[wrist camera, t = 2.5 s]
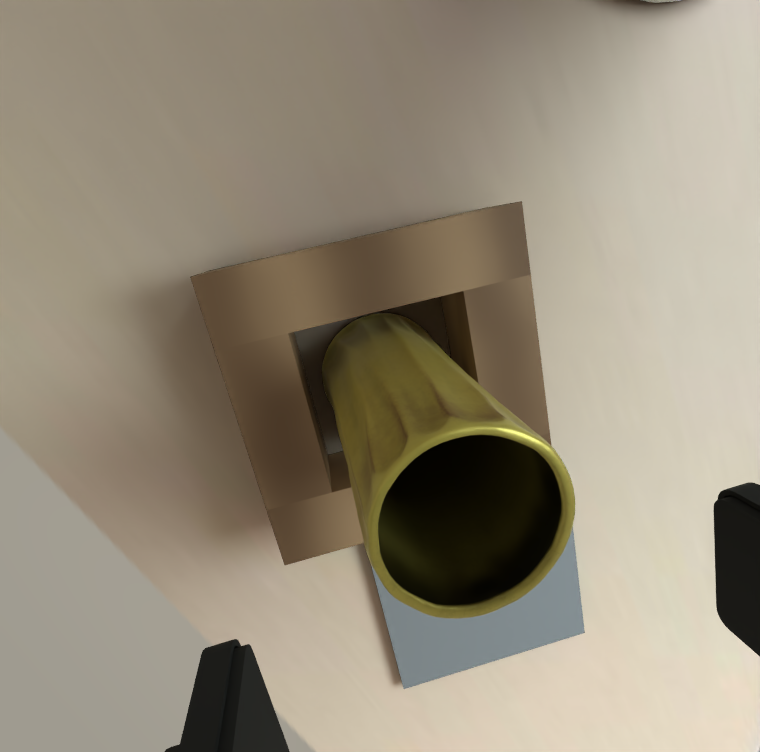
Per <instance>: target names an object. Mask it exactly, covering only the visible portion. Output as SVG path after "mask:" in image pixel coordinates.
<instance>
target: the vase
mask: <svg viewBox="0 0 760 752" xmlns="http://www.w3.org/2000/svg"><path fill="white" fill-rule="evenodd" d="M322 379H323V385H324V390H325V393H326V396H327V399H328V401H329V402H330V403H331V405H332V406H333V410H334V413H335V418H336V424H337V429H338V433H339V436H340V440H341V444H342V448H343V451H344V455H345V458H346V461H347V464H348V470H349V477H350V483H351V487H352V491H353V496H354V500H355V505H356V509H357V515H358V519H359V523H360V528H361V532H362V536H363V540H364V545H365V549H366V552H367V555H368V558H369V560H370V563H371V565H372V567H373V569H374V570H375V572H376V574H377V575H378V577H379V579H380V581H381V582H382V584H383V586H384V587H385V588H386V589H387V591H388V592H389V593H390V594H391V595H392V596H393V597H394V598H395V599H397V600H399V601H400V602H402V603H403V604H405V605H407V606H409V607H411V608H413V609H416V610H418V611H420V612H422V613H424V614H427V615H430V616H433V617H439V618H450V619H459V618H471V617H476V616H481V615H485V614H488V613H491V612H494V611H496V610H498V609H500V608H502V607H505V606H507V605H509V604H511V603H513V602H515V601H517V600H518V599H520V598H521V597H523V596H524V595H526V594H527V593H529V592H530V591H531V590H532V589H533V588H535V587H536V586H537V585H538V584H539V583H540V582H541V581H542V580H543V579H544V578H545V576H546V575H547V574H548V573H549V571H550V570H551V569H552V568H553V566H554V565H555V564H556V562H557V561H558V559H559V558H560V556H561V555H562V553H563V551H564V549H565V547H566V544H567V542H568V540H569V537H570V535H571V531H572V526H573V521H574V515H575V496H574V489H573V485H572V481H571V478H570V476H569V473H568V471H567V469H566V467H565V465H564V463H563V462H562V460H561V458H560V457H559V455H558V454H557V453H556V451H555V450H554V448H553V447H552V446H551V445H550V444H549V443H548V442H547V441H546V440H544V439H543V438H542V437H541V436H540V435H538V434H537V433H536V432H534V431H533V430H532V429H531V428H530V427H528V426H527V425H526V424H525V423H524V422H523V421H521V420H520V419H519V418H518V417H516V416H515V415H514V414H513V413H512V412H510V411H509V410H508V409H507V408H506V407H505V406H503V405H502V404H501V403H499V402H498V401H497V400H496V399H495V398H494V397H493V396H492V395H491V394H490V393H488V392H487V391H486V390H485V389H484V388H483V387H482V386H481V385H479V384H478V383H477V382H476V381H475V380H474V379H473V378H471V377H470V376H469V375H468V374H467V373H466V372H465V371H464V370H463V369H462V368H461V367H460V366H459V365H458V364H457V363H455V362H454V361H453V360H452V359H451V358H450V357H449V356H448V355H447V354H446V353H445V352H444V351H443V350H442V349H441V348H440V347H439V346H438V345H437V344H436V343H435V342H434V341H433V340H432V339H431V337H430V335H429V334H428V333H427V332H426V331H425V330H424V329H423V328H422V327H421V326H420V325H418V324H417V323H415V322H414V321H412V320H410V319H408V318H406V317H403V316H400V315H396V314H390V313H379V314H371V315H367V316H364V317H361V318H359V319H357V320H355V321H353V322H351V323H350V324H348V325H347V326H346V327H344V328H343V329H342V330H341V331H340V332H339V333H338V334H337V335H336V336H335V337H334V339H333V340H332V342H331V343H330V345H329V347H328V349H327V351H326V354H325V357H324V361H323V364H322Z"/></svg>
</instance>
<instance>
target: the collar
mask: <svg viewBox="0 0 760 752" xmlns="http://www.w3.org/2000/svg"><path fill="white" fill-rule="evenodd" d="M191 281H192V284H193V287H194V290H195V293H196V296H197V299H198V302H199V305H200V308H201V311H202V314H203V317H204V320H205V323H206V326H207V329H208V332H209V336H210V339H211V342H212V345H213V348H214V351H215V354H216V357H217V360H218V363H219V366H220V369H221V372H222V375H223V378H224V381H225V384H226V387H227V391H228V394H229V397H230V400H231V403H232V406H233V409H234V412H235V415H236V418H237V421H238V424H239V427H240V430H241V433H242V436H243V439H244V442H245V445H246V449H247V452H248V455H249V458H250V461H251V464H252V467H253V470H254V473H255V476H256V479H257V482H258V485H259V488H260V491H261V494H262V497H263V500H264V504H265V507H266V510H267V513H268V516H269V519H270V522H271V525H272V528H273V531H274V534H275V537H276V540H277V543H278V546H279V549H280V552H281V555H282V559H283V562H284V565H287V564H291V563H295V562H298V561H302V560H305V559H309V558H312V557H316V556H319V555H323V554H326V553H330V552H333V551H337V550H340V549H344V548H348V547H351V546H355V545H358V544H362V543H364V540H363V536H362V532H361V528H360V523H359V519H358V515H357V509H356V505H355V500H354V496H353V491H352V487H351V483H350V477H349V470H348V464H347V461H346V458H345V455H344V451H342V452H338V453H334V454H331V455H328V454H327V450H326V447H325V443H324V439H323V436H322V432H321V429H320V425H319V421H318V418H317V414H316V410H315V407H314V403H313V399H312V396H311V392H310V388H309V385H308V381H307V377H306V374H305V370H304V366H303V363H302V359H301V355H300V352H299V348H298V344H297V341H296V337H295V333H294V332H296V331H300V330H304V329H308V328H312V327H316V326H320V325H324V324H329V323H333V322H337V321H341V320H345V319H349V318H353V317H358V316H362V315H366V314H370V313H374V312H378V311H382V310H386V309H391V308H395V307H399V306H403V305H407V304H411V303H415V302H420V301H424V300H428V299H432V298H436V297H440V296H441V302H442V307H443V313H444V318H445V324H446V330H447V335H448V341H449V347H450V352H451V358H452V360H453V361H454V362H455V363H457V364H458V365H459V366H460V367H461V368H462V369H463V370H464V371H465V372H466V373H467V374H468V375H469V376H470V377H471V378H473V379H474V380H475V381H476V382H477V383H478V384H479V385H481V386H482V387H483V388H484V389H485V390H486V391H487V392H488V393H490V394H491V395H492V396H493V397H494V398H495V399H496V400H497V401H498V402H499V403H501V404H502V405H503V406H505V407H506V408H507V409H508V410H509V411H510V412H512V413H513V414H514V415H515V416H516V417H518V418H519V419H520V420H521V421H523V422H524V423H525V424H526V425H527V426H528V427H530V428H531V429H532V430H533V431H534V432H536V433H537V434H538V435H540V436H541V437H542V438H543V439H544V440H546V441H547V442H548V443H549V444H550V445H551V439H550V431H549V423H548V414H547V406H546V398H545V390H544V381H543V373H542V365H541V356H540V348H539V340H538V332H537V323H536V315H535V307H534V298H533V290H532V282H531V273H530V265H529V257H528V249H527V240H526V232H525V224H524V215H523V207H522V201H521V202H515V203H510V204H504V205H499V206H493V207H488V208H483V209H478V210H474V211H470V212H465V213H461V214H457V215H452V216H448V217H443V218H439V219H435V220H430V221H426V222H421V223H417V224H413V225H408V226H404V227H399V228H395V229H391V230H386V231H382V232H377V233H373V234H369V235H364V236H360V237H355V238H351V239H347V240H342V241H338V242H333V243H329V244H325V245H320V246H316V247H311V248H307V249H303V250H298V251H294V252H289V253H285V254H281V255H276V256H272V257H267V258H263V259H259V260H254V261H250V262H245V263H241V264H237V265H232V266H228V267H223V268H219V269H215V270H210V271H207V272H204V273H201V274H198V275H195V276H191Z"/></svg>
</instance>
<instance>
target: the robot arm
mask: <svg viewBox="0 0 760 752" xmlns="http://www.w3.org/2000/svg"><path fill="white" fill-rule="evenodd" d="M642 1H648V2H654V3H659V2H673V1H681V0H642ZM714 535H715V571H716V606H717V612H718V615H719V617H720V619H721V620H722V622H723V623H724V625H725V626H726V627H727V628H728V629H729V630H730V631H731V632H733V633H734V634H735V635H736V636H737V637H738V638H739V639H741V640H742V641H743V642H744V643H745V644H746V645H747V646H749V647H750V648H751V649H752V650H753V651H754V652H755V653H757V654H758V655H759V656H760V485H758V484H755V483H745V484H742V485H739V486H736V487H732V488H729V489H726V490H723V491H721V492H720V494H719V495H718V500H717V501H716V502H715V503H714ZM165 752H289V749H288V746H287V744H286V740H285V738H284V735H283V732H282V730H281V727H280V724H279V721H278V719H277V716H276V713H275V710H274V708H273V705H272V702H271V699H270V697H269V694H268V691H267V688H266V686H265V683H264V680H263V677H262V675H261V672H260V669H259V666H258V664H257V661H256V658H255V656H254V653H253V650H252V648H251V646H250V645H249V644H247V645H244V646H241V645H240V643H239V641H238V640H237V639H234V640H231V641H227V642H224V643H221V644H218V645H214V646H211V647H208V648H205V649H204V650H203V652H202V655H201V658H200V663H199V667H198V671H197V675H196V679H195V684H194V688H193V692H192V696H191V700H190V705H189V709H188V713H187V717H186V721H185V726H184V730H183V734H182V738H181V743H180V744H179V745H176V746H173V747H170V748H168V749H166V751H165Z"/></svg>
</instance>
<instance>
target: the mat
mask: <svg viewBox="0 0 760 752" xmlns="http://www.w3.org/2000/svg"><path fill="white" fill-rule="evenodd" d="M371 566H372V565H371ZM372 570H373V574H374V578H375V582H376V585H377V589H378V593H379V597H380V601H381V604H382V608H383V612H384V616H385V620H386V623H387V627H388V631H389V635H390V639H391V642H392V646H393V650H394V654H395V657H396V661H397V665H398V669H399V673H400V676H401V680H402V684H403V688H404V689H406V688H409V687H412V686H415V685H419V684H422V683H425V682H428V681H431V680H435V679H438V678H441V677H444V676H447V675H451V674H454V673H457V672H460V671H464V670H467V669H470V668H473V667H476V666H480V665H483V664H486V663H489V662H492V661H496V660H499V659H502V658H505V657H508V656H512V655H515V654H518V653H521V652H524V651H528V650H531V649H534V648H537V647H540V646H544V645H547V644H550V643H553V642H557V641H560V640H563V639H566V638H569V637H573V636H576V635H579V634H582V633H585V632H584V623H583V614H582V605H581V596H580V587H579V578H578V570H577V561H576V552H575V543H574V534H573V526H572V531H571V535H570V537H569V540H568V542H567V544H566V547H565V549H564V551H563V553H562V555H561V556H560V558H559V559H558V561H557V562H556V564H555V565H554V566H553V568H552V569H551V570H550V571H549V573H548V574H547V575H546V576H545V578H544V579H543V580H542V581H541V582H540V583H539V584H538V585H537V586H536V587H535V588H533V589H532V590H531V591H530V592H529V593H527V594H526V595H524V596H523V597H521V598H520V599H518V600H517V601H515V602H513V603H511V604H509V605H507V606H505V607H502V608H500V609H498V610H496V611H494V612H491V613H488V614H485V615H481V616H476V617H471V618H459V619H450V618H439V617H433V616H430V615H427V614H424V613H422V612H420V611H418V610H416V609H413V608H411V607H409V606H407V605H405V604H403V603H402V602H400V601H399V600H397V599H395V598H394V597H393V596H392V595H391V594H390V593H389V592H388V591H387V589H386V588H385V587H384V586H383V584H382V582H381V581H380V579H379V577H378V575H377V574H376V572H375V570H374V569H373V567H372Z"/></svg>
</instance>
